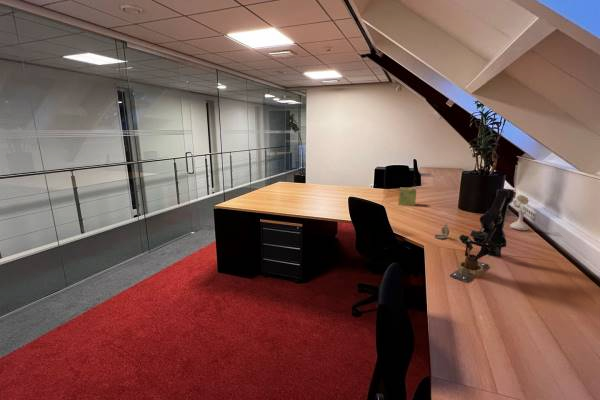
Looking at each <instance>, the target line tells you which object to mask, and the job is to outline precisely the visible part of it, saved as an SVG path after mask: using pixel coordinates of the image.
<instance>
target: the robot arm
mask: <svg viewBox="0 0 600 400" xmlns="http://www.w3.org/2000/svg"><path fill="white" fill-rule="evenodd" d="M516 197H517V191H515V190H514V189H511V188H504V187H501V188H500V189H496V197H495V199H494V201H493V203H492V206H491V208H489V209H487V211H486V212H485V213H484V214H483V215H481V216H480V218H479V222H480V226H481V229H480V230H478V231H475V230H471V232H470V235H469V236H468V235H465V234H461V235H459V238H458V239H459V241H460V242H461V243H462V244H463V245H465V253H464V256H465V257H466V256H467V255H468V253H467V248H469V249H470V252H471V251H472V250H474V247H473V245H475V246H478V247H480V250H479V251H478V252H477V253H476V255H475V256H476V258H475V260H479V259H481V258H483V257H485V256H487V255H488V256H491V257H496V258H502V249H503V248H506V247H507V239H506V234H505V231H504V226H505V222H506V218H507V213H508V209H509V205H510V204H512V203H513V202H514V199H515V198H516ZM470 237H472V239H471V238H470Z"/></svg>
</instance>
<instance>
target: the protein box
mask: <svg viewBox="0 0 600 400" xmlns="http://www.w3.org/2000/svg"><path fill="white" fill-rule="evenodd" d="M398 191H399V192H398V203H397V204H398V205H400V206H408V207H410V206H411V207H416V198H417V187H415V188H414V187H399V190H398Z"/></svg>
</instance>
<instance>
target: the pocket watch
mask: <svg viewBox="0 0 600 400" xmlns="http://www.w3.org/2000/svg"><path fill="white" fill-rule="evenodd" d="M447 226H448V223H444V226H442V227H441V230H440V231H441V234H435V235H434V238H435V239H438V240H445V239H446V237H448V236H449V235H450V230H449V228H448V227H447Z"/></svg>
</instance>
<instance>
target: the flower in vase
mask: <svg viewBox="0 0 600 400" xmlns="http://www.w3.org/2000/svg"><path fill="white" fill-rule="evenodd" d="M516 200H517V201H518V202H519V205H518V204H516V205H515V206H514V207H516V208H517V209H518V210H517V211H518V219H517V221H515V222H512V223H511V224H510V225H509V226H510V228H511V229H513V228H514V229H513V230H519V231H528V230H530V226H529V225H528V224H526V223H525V222H524V217H525V216H524V215H525V214H526V213H527V211H526V210H524V209H526V208H527V207H521V204H523V205H527V204H528V203H529V202H530V201H529V198H527V196H526V195H523V194H518V195H516Z"/></svg>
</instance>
